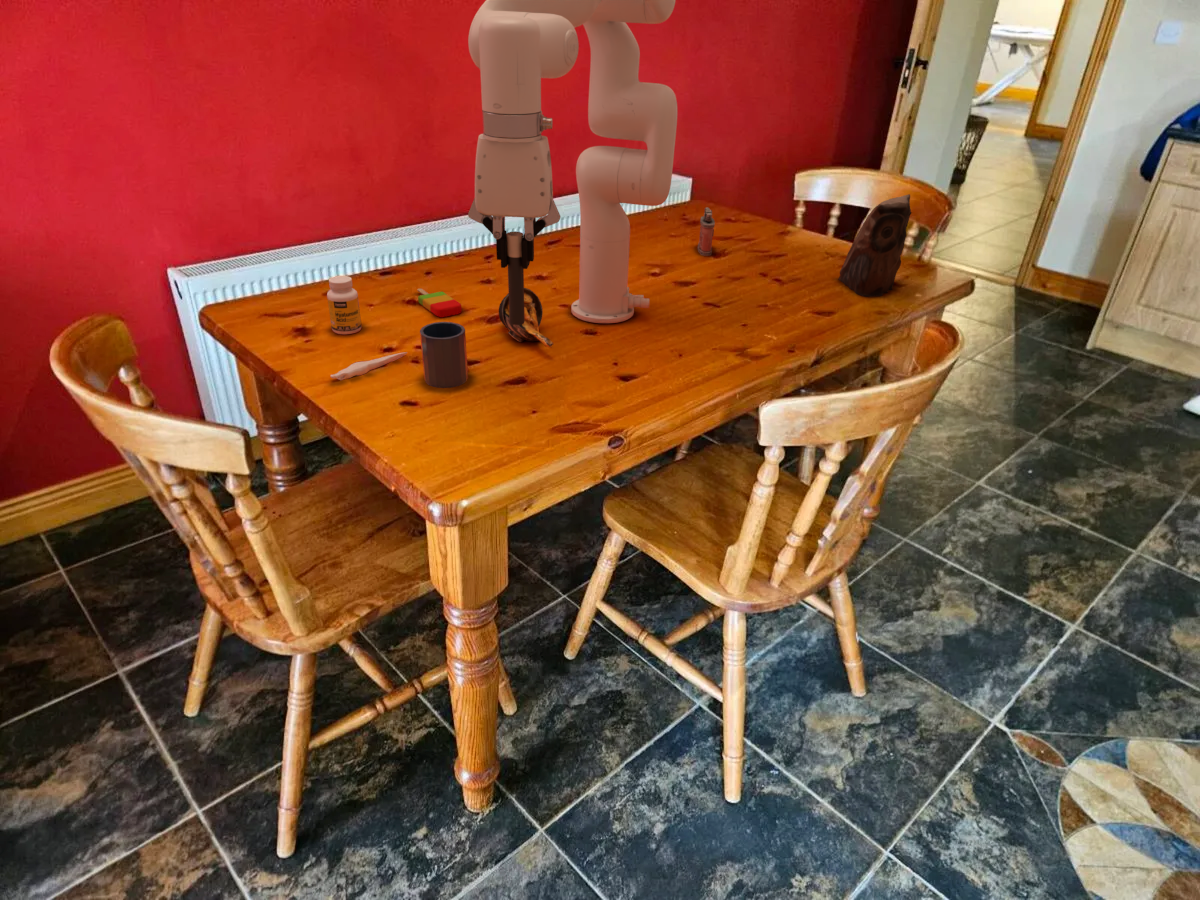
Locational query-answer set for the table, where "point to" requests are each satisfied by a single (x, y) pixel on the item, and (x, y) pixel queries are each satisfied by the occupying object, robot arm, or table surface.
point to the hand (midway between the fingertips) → (515, 264)
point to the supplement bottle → (343, 306)
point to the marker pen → (515, 278)
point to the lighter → (706, 233)
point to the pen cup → (444, 354)
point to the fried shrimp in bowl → (532, 319)
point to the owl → (877, 249)
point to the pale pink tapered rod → (365, 366)
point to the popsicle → (439, 303)
